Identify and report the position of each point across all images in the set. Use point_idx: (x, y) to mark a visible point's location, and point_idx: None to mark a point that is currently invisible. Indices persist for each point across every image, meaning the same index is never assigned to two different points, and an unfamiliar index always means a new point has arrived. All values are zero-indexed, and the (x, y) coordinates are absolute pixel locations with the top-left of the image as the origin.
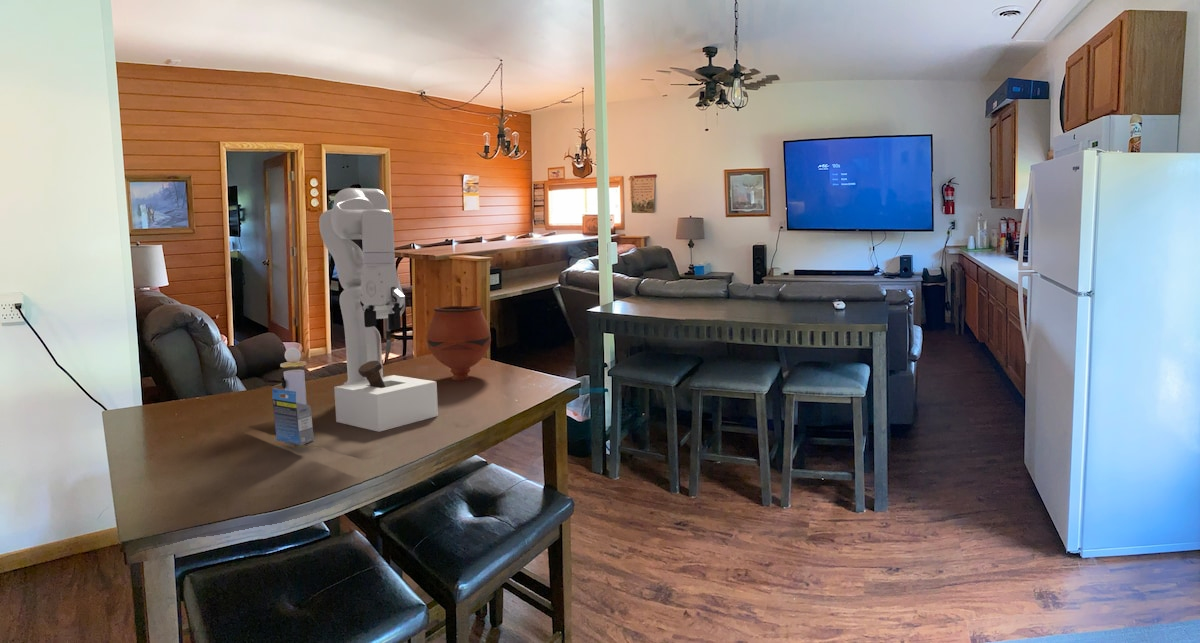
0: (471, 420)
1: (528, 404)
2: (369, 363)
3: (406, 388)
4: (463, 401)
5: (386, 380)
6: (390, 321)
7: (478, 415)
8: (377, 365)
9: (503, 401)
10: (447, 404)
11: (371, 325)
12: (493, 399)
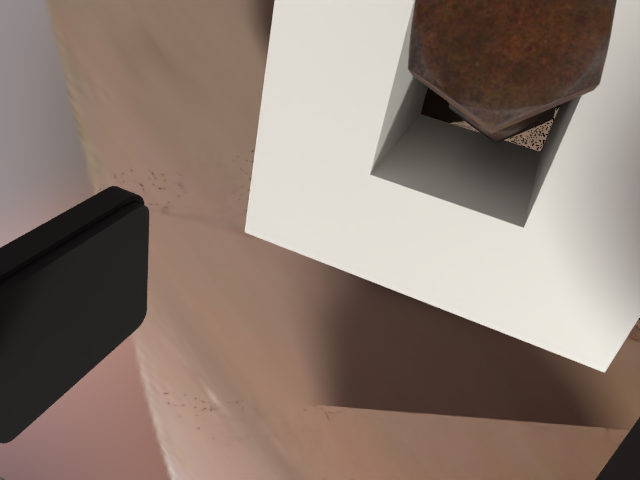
0: (164, 134)
1: (151, 352)
2: (529, 62)
3: (271, 39)
4: (365, 381)
5: (546, 217)
6: (34, 237)
7: (189, 203)
8: (411, 24)
9: (239, 384)
10: (396, 337)
11: (607, 469)
12: (285, 408)
